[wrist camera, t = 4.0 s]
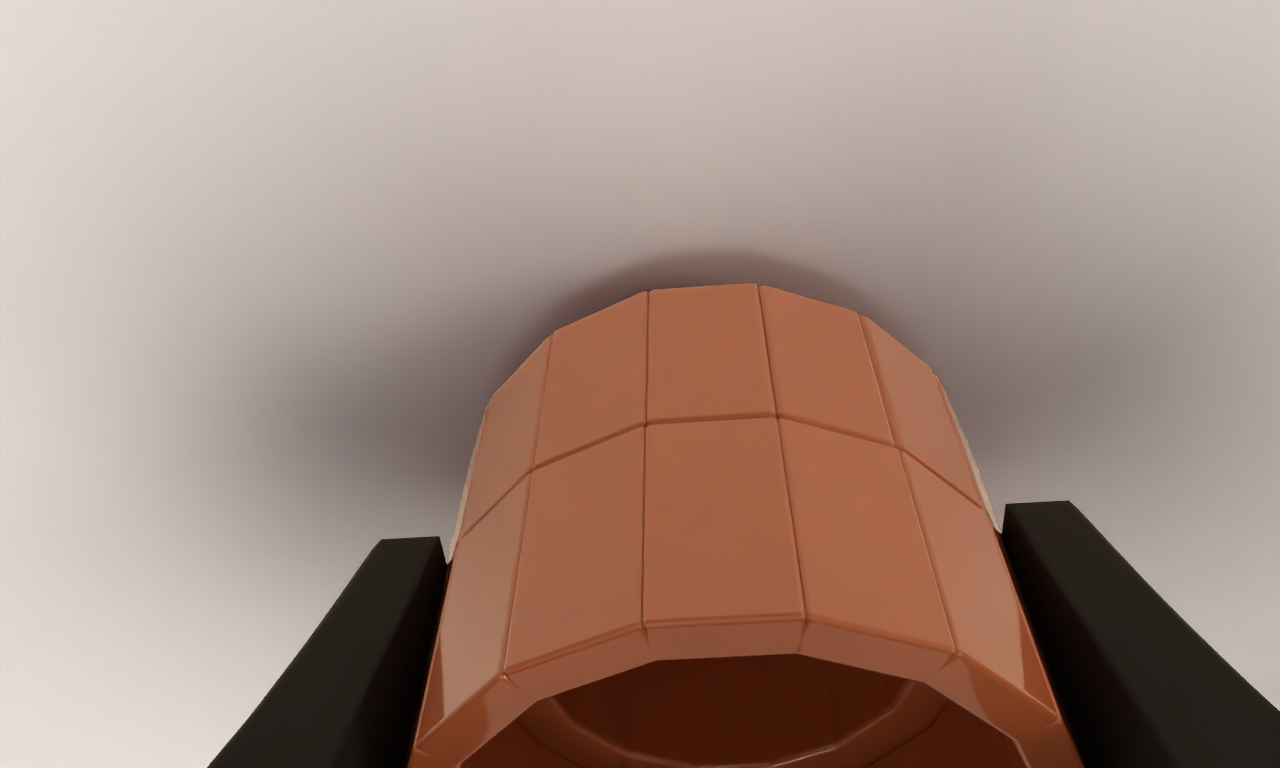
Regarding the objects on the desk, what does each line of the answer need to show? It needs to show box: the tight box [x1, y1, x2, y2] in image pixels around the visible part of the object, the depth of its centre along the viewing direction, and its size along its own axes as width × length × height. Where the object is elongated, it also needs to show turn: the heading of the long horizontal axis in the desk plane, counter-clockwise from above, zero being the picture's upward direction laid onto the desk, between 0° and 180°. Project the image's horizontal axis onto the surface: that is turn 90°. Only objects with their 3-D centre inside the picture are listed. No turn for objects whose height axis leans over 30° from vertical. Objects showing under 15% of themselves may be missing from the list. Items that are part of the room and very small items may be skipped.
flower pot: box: [401, 283, 1088, 768], centre depth 11 cm, size 6×6×5 cm
